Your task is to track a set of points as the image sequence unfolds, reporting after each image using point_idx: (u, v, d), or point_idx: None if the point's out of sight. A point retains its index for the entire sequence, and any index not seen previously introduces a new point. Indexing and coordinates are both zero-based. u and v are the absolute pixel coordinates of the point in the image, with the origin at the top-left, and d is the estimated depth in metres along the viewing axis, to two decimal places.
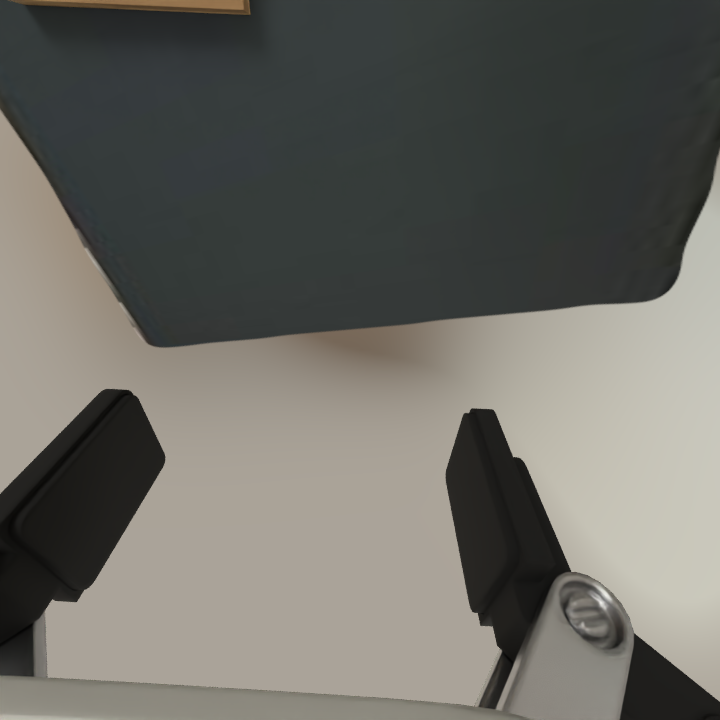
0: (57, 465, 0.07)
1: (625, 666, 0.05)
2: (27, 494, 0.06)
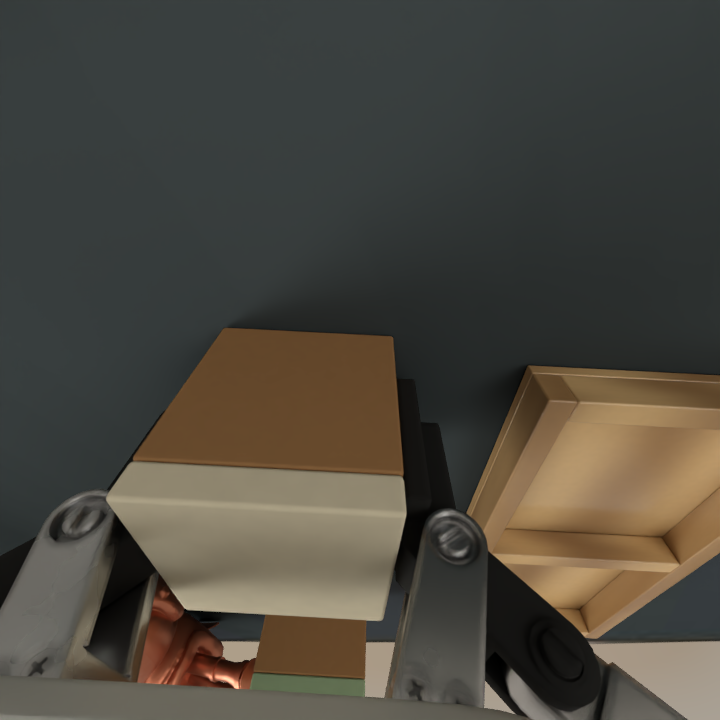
0: None
1: (484, 570, 0.06)
2: None
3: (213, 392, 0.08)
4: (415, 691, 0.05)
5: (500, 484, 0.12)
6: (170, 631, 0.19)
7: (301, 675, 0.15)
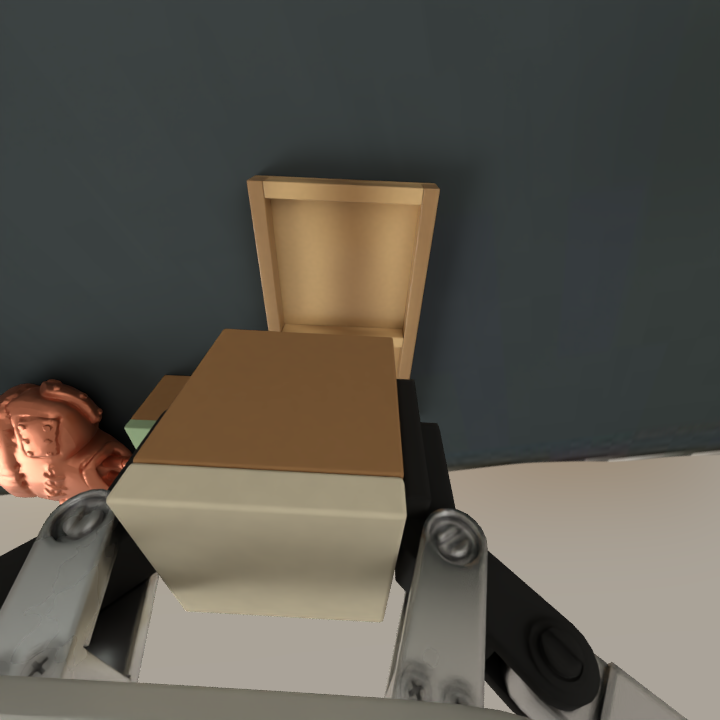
0: None
1: (484, 570, 0.06)
2: None
3: (213, 394, 0.08)
4: (414, 691, 0.05)
5: None
6: (88, 425, 0.26)
7: None
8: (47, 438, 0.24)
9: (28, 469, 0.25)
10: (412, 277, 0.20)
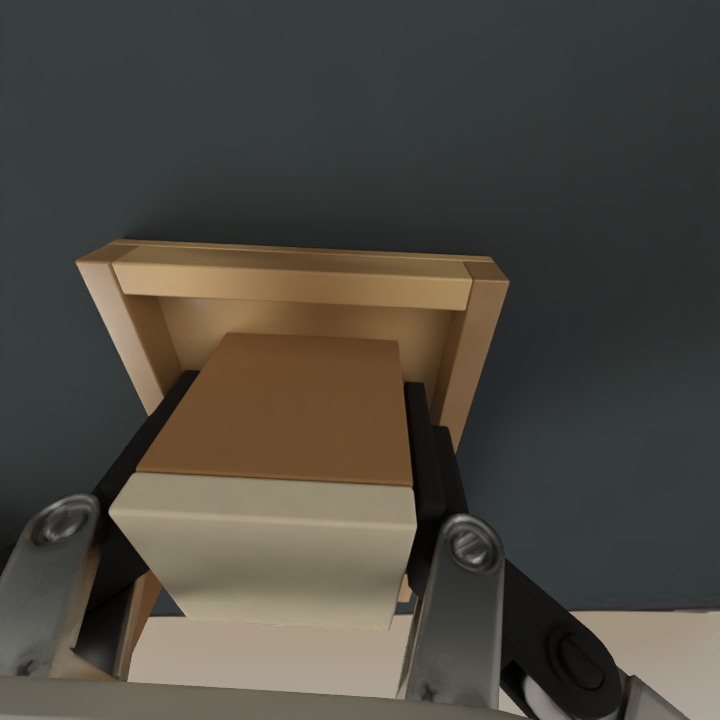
0: None
1: (501, 578, 0.06)
2: None
3: (217, 399, 0.07)
4: (428, 695, 0.05)
5: None
6: None
7: None
8: None
9: None
10: (438, 425, 0.10)
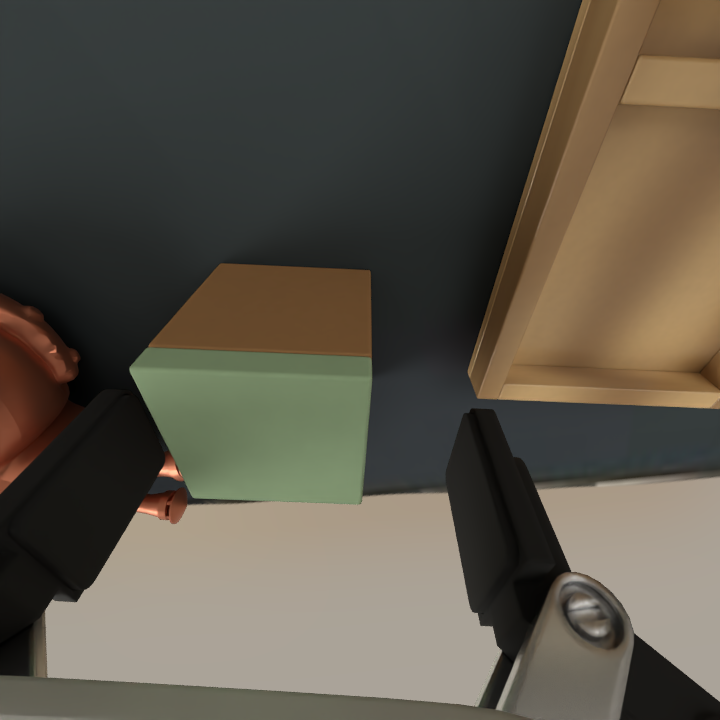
0: (57, 465, 0.07)
1: (625, 666, 0.05)
2: (27, 494, 0.06)
3: None
4: None
5: None
6: (49, 385, 0.11)
7: (245, 352, 0.08)
8: None
9: None
10: None
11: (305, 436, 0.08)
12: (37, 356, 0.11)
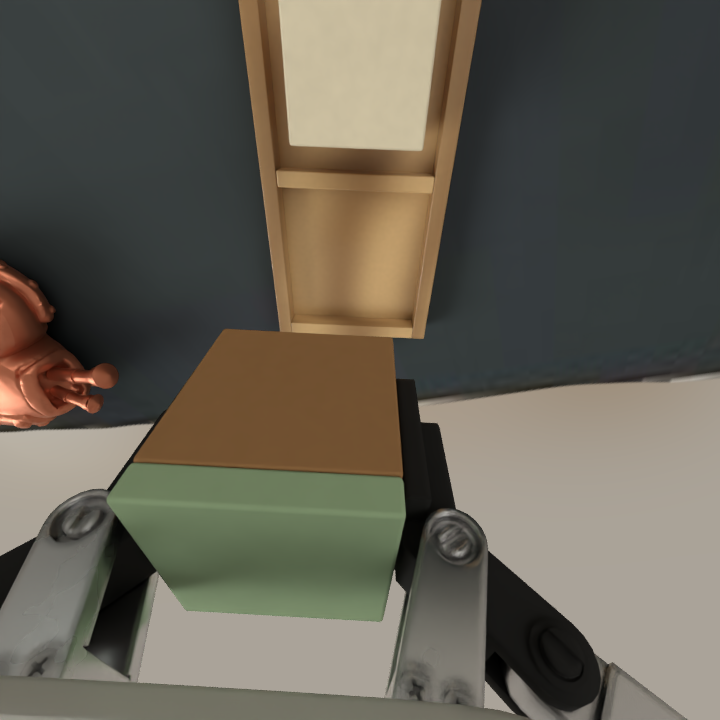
0: None
1: (484, 570, 0.06)
2: None
3: None
4: (415, 691, 0.05)
5: None
6: (34, 321, 0.21)
7: (249, 469, 0.06)
8: None
9: None
10: (451, 68, 0.14)
11: (320, 564, 0.07)
12: (30, 305, 0.21)
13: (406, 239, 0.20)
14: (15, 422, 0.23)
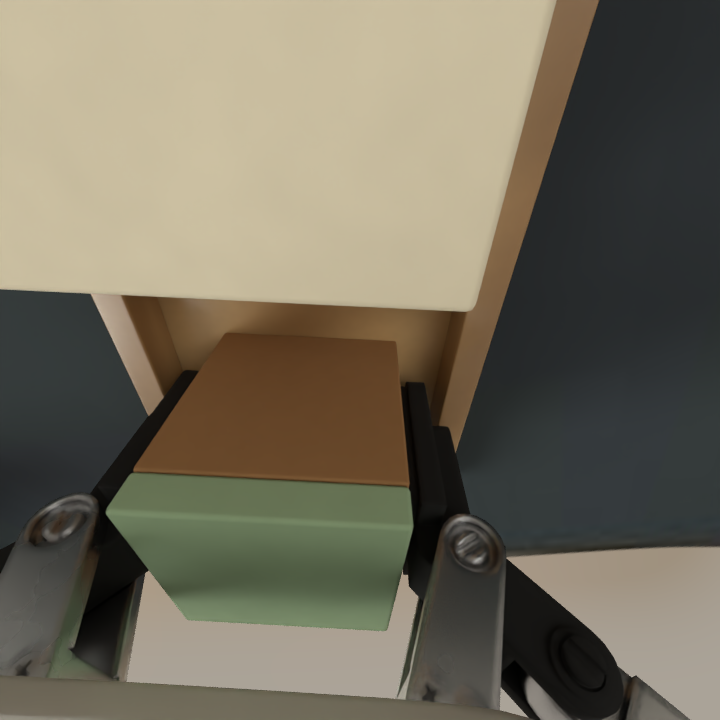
0: None
1: (502, 579, 0.06)
2: None
3: None
4: (429, 696, 0.05)
5: None
6: None
7: (252, 479, 0.06)
8: None
9: None
10: None
11: (324, 575, 0.06)
12: None
13: (407, 369, 0.10)
14: None
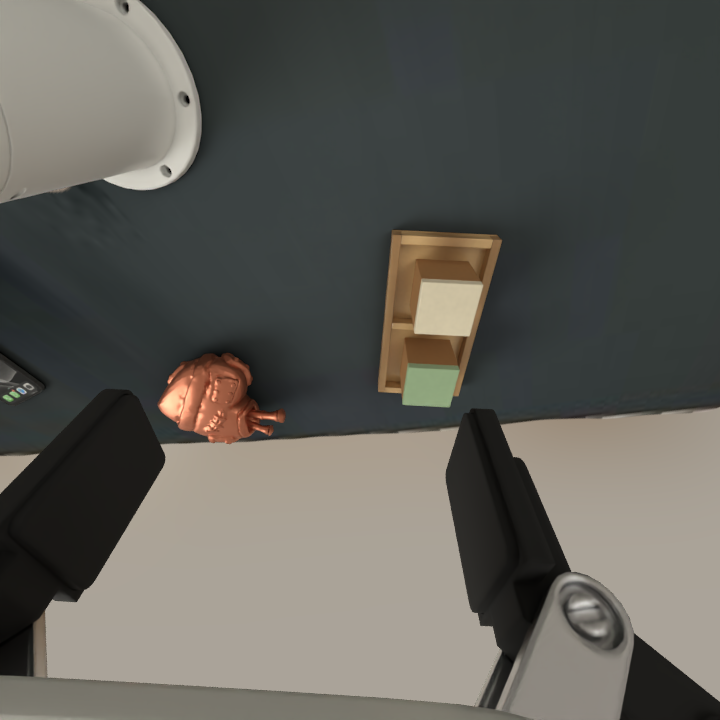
0: (57, 465, 0.07)
1: (625, 666, 0.05)
2: (27, 494, 0.06)
3: (428, 270, 0.30)
4: None
5: (388, 279, 0.32)
6: None
7: (429, 364, 0.33)
8: (231, 391, 0.37)
9: (206, 410, 0.38)
10: None
11: (441, 384, 0.34)
12: (246, 378, 0.39)
13: None
14: (226, 440, 0.41)
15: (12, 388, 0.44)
